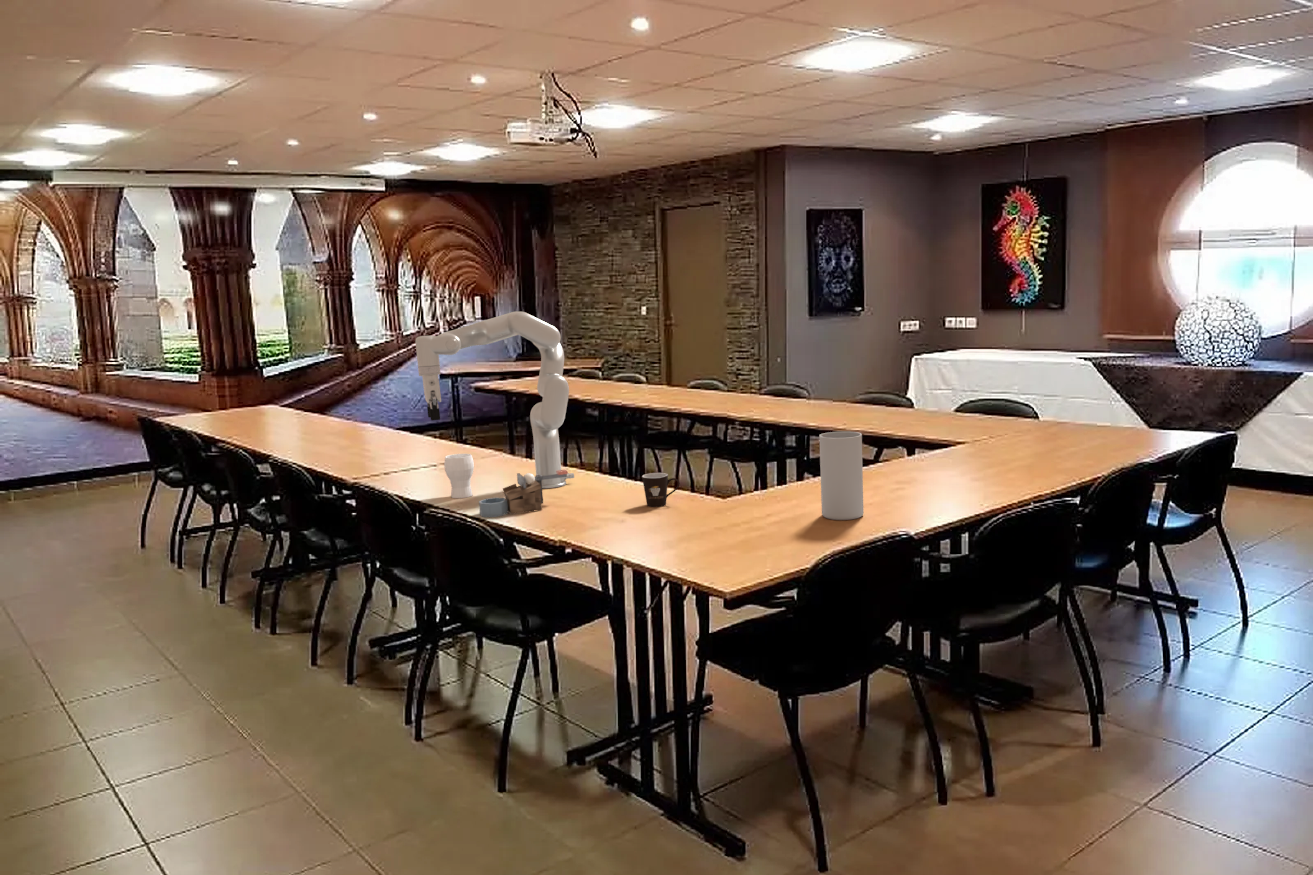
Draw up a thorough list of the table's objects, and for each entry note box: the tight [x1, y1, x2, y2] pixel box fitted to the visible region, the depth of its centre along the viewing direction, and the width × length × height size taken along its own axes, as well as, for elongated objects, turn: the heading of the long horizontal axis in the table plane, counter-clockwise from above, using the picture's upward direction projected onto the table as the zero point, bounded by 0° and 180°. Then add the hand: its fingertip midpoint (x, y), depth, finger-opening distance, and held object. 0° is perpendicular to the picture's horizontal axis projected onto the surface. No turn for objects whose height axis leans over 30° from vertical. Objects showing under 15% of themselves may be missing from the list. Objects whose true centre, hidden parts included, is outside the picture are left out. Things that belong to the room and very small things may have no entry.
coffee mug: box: [641, 472, 681, 508], centre depth 328 cm, size 12×9×10 cm
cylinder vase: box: [818, 431, 864, 521], centre depth 298 cm, size 12×12×25 cm
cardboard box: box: [502, 474, 544, 515], centre depth 334 cm, size 14×12×10 cm
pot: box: [478, 497, 509, 518], centre depth 329 cm, size 9×9×4 cm
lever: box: [516, 469, 569, 488], centre depth 335 cm, size 17×11×3 cm, turn 109°
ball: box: [523, 472, 535, 485], centre depth 332 cm, size 4×4×4 cm
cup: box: [443, 453, 475, 499], centre depth 360 cm, size 11×11×15 cm
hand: (434, 418), depth 351 cm, fingers open, 9 cm apart
